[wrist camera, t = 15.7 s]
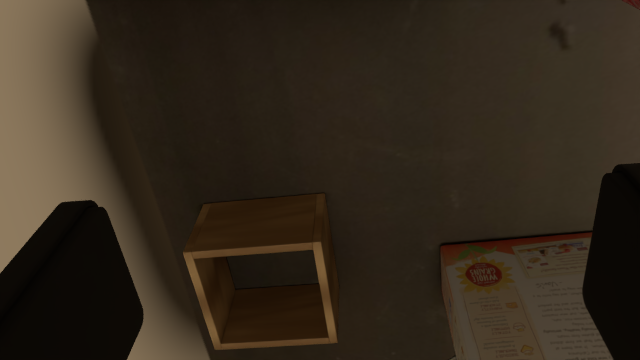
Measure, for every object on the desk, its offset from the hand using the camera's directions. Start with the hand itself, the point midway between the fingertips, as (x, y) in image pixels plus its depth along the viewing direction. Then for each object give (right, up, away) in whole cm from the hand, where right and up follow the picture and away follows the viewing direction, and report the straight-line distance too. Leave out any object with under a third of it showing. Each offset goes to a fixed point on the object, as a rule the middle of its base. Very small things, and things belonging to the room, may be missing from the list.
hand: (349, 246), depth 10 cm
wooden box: (-5, -5, +40) cm, 40 cm away
